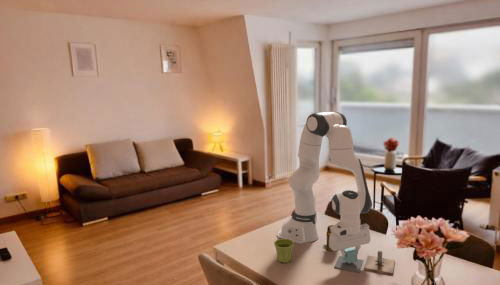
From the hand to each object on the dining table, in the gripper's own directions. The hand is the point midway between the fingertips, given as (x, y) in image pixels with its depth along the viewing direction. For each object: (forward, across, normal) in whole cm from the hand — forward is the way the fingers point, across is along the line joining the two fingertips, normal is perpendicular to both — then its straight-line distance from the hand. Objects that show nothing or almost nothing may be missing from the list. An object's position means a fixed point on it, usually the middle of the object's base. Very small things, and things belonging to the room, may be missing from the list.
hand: (350, 255), depth 161 cm
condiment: (+5, 0, -16) cm, 17 cm away
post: (+5, -11, +6) cm, 14 cm away
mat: (+4, 0, 0) cm, 5 cm away
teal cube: (+2, 0, 0) cm, 3 cm away
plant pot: (+4, +26, -16) cm, 31 cm away
